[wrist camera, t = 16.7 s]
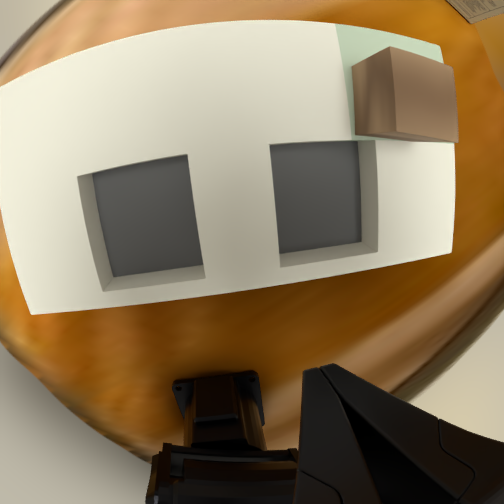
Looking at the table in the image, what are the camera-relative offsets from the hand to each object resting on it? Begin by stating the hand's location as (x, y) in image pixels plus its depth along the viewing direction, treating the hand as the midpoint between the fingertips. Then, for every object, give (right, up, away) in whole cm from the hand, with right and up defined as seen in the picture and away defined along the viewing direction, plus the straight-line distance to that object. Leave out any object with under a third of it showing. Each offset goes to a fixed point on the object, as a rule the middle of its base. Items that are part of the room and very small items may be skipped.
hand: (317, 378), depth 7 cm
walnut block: (+6, +12, +7) cm, 15 cm away
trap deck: (-3, +9, +9) cm, 13 cm away
